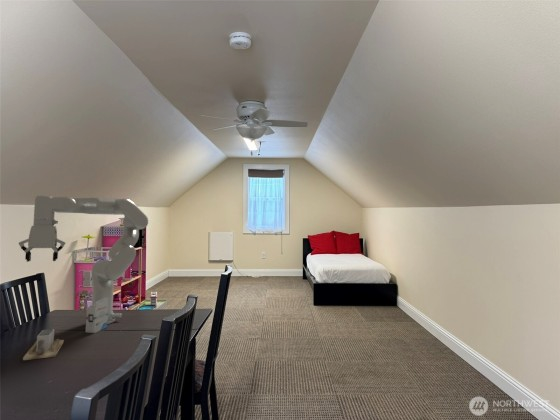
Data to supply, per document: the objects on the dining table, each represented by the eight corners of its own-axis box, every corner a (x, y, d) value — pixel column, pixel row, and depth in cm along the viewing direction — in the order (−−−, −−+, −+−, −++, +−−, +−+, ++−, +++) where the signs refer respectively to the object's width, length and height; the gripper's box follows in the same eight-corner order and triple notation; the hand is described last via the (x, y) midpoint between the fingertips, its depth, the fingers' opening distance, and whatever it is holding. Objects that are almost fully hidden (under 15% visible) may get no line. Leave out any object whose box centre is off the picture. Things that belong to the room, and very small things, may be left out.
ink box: (98, 326, 160) (100, 296, 161) (107, 327, 159) (108, 297, 160) (84, 332, 152) (86, 300, 152) (94, 333, 151) (95, 301, 151)
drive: (53, 343, 134) (54, 328, 135) (48, 350, 127) (49, 334, 127) (41, 345, 133) (42, 329, 133) (36, 352, 125) (37, 335, 126)
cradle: (63, 342, 139) (64, 327, 139) (55, 356, 124) (56, 340, 125) (35, 345, 135) (36, 330, 135) (22, 360, 120) (23, 343, 121)
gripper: (67, 223, 154) (65, 259, 153) (22, 222, 147) (20, 260, 147) (64, 223, 147) (62, 261, 147) (17, 222, 140) (14, 262, 140)
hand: (41, 261), depth 147 cm, fingers open, 9 cm apart
